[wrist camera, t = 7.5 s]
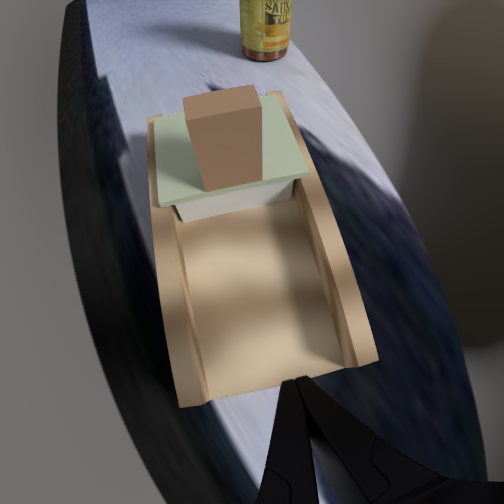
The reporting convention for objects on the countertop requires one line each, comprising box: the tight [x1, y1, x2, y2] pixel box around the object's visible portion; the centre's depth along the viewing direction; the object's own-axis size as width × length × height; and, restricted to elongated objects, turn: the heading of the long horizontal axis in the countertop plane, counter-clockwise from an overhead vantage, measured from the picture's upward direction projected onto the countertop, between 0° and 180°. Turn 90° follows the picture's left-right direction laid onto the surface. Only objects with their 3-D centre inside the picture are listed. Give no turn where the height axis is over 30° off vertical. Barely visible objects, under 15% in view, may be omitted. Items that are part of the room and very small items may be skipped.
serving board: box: [147, 91, 379, 408], centre depth 24 cm, size 24×14×4 cm, turn 13°
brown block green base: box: [154, 85, 309, 208], centre depth 20 cm, size 9×11×8 cm
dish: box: [175, 179, 294, 223], centre depth 26 cm, size 9×9×3 cm
